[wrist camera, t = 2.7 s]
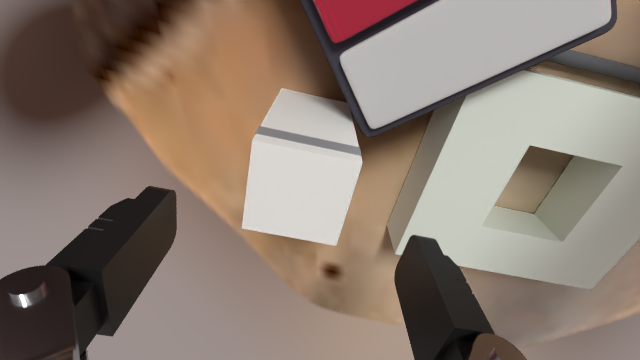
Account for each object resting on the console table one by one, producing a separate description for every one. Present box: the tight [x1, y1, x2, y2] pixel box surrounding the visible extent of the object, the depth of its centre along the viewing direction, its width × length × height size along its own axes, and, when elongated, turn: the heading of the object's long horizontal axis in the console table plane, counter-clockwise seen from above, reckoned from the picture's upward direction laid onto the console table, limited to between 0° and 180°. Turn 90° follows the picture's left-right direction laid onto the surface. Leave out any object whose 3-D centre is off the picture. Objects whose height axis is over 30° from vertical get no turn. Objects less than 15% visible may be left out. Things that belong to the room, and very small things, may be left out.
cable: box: [547, 50, 640, 83], centre depth 16 cm, size 1×12×1 cm, turn 77°
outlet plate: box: [387, 69, 640, 290], centre depth 19 cm, size 12×14×3 cm
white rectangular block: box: [242, 88, 363, 246], centre depth 15 cm, size 4×4×8 cm
